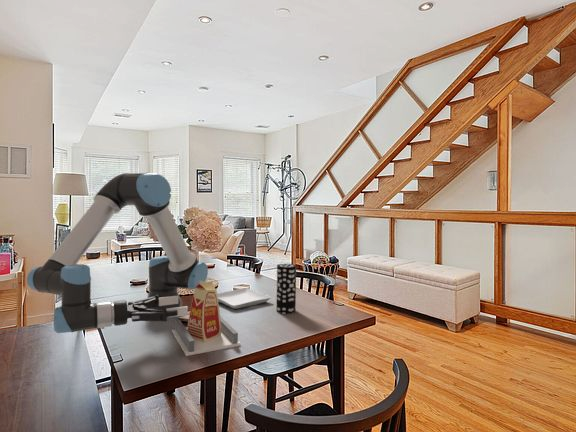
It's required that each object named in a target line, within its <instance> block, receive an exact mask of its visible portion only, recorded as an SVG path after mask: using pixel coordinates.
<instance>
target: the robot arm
mask: <svg viewBox="0 0 576 432" xmlns="http://www.w3.org/2000/svg"><path fill="white" fill-rule="evenodd" d="M171 192H172V188H171V185H170V183H169V181H168V180H167V179H166V177H165V176H163V175H161V174H160V173H153V172H143V173H142V172H139V173H137V172H132V173H130V172H126V173H125V172H124V173H122V174H118V175H116V176H114V177H113V178H112V179H110V180H109V181H107V182H106V183H105V184H104V185H103V186H102V187H101V188H100V189H99V191H97V193H96V194H95V196H94V197H93V203H92V204H91V205H90V207H89V208H88V209H87V210H86V211H85V213H84V214H83V216H81V218H80V219H79V221H78V222H77V223H76V224H75V225H74V226H73V228H72V229H71V230H70V232H69V233H68V234H67V235H66V236H65V238H64V239H63V240H62V242H60V244H59V245H58V247H57V248H56V249H55V250H54V252H53V253H52V254H51V256H50V257H48V259H47V261H45V263H44V264H43V265H42V266H41V265H40V266H36V267H34V268H33V269H31V270H30V271H29V272H28V274H27V277H26V283H27V286H28V287H29V288H30V289H32V290H33V291H37V292H39V293H46V294H52V295H55V296H61V306H58V307H56V308H54V309H53V330H54V332H55V333H57V334H63V333H64V334H65V333H75V332H81V331H87V330H93V329H101V330H104V329H105V328H108V327H112V326H113V325H114V326H115V327H116V326H123V325H127V323H128V319H131V322H134V323H136V322H167V320H168V318H175V317H184V316H189V315H188V312H189V311H188V309H189V306H187V305H186V306H182V300H181V297H180V295H179V292H178V288H179V289H184V290H185V289H186V290H188V291H189V290H190V291H191V290H193V291H195V287H196V286H197V285H198V284H199V281H205V282H206V281H207V279H208V273H209V269H208V265H207V263H206V262H204V261H199V260H198V258H197V255H196V254H195V253H194V252H193V251H192V252H191V251H190V250H189V248H188V246H187V244H186V241H185V240H184V237H183V235H182V233H181V231H180V229H179V227H178V225H177V223H176V221H175V219H174V216H173V215H172V212H171V210H170V208H169V206H170V204H171V198H172V193H171ZM126 206H134V207H135V208H136V211H137V212H138V214H139V215H140V216H141V217H144V218H146V219H147V222H148V224H149V225H150V228H151V229H152V231H153V232H154V233H153V234H155V237H156V238H157V241H158V242H159V244H160V245H161V248H162V250H163V251H164V253H165V255H161V256H160V255H159V256H155V257H152V258H150V259H149V261H148V283H149V285H148V287H149V288H148V289H149V291H148V294H147V297H146V298H143V299H142V298H141V299H138V300H135V301H127V300H126V299H122V300H120V299H119V300H114V301H113V302H112V301H101V302H95V303H91V302H92V299H91V295H92V293H91V292H92V291H91V289H92V285H91V283H92V282H91V281H92V277H91V268H90V266H89V265H87V264H81V263H80V264H78V263H79V261H80V260H81V259H82V257H83V256H84V255H85V254H86V252H87V250H88V249H89V248H90V247H91V246H92V244H93V242H94V241H95V240H96V239H97V237H98V235H99V234H100V233H101V232H102V231H103V229H104V227H106V225H107V224H108V222H109V221H110V220H111V219H112V217H113V216H114V215H116V214H119V213H120V211H121V210H122V209H123V208H124V207H126Z"/></svg>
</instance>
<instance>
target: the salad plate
mask: <svg viewBox="0 0 576 432" xmlns="http://www.w3.org/2000/svg"><path fill="white" fill-rule="evenodd" d="M217 297H218V303H221V304H223V305H225V306H228V307H230V308H231V309H235V310H237V309H243V308H247V307H252V306H256V305H260V304H263V303H265V302H268V301H270V299H271V298H272V297H271V296H270V295H267V294H265V293H262V292H260V291H256V290H254V289H252V288H248V287H244V288H238V289H233V290H229V291H223V292H219V293H218V292H217Z"/></svg>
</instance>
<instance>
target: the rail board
mask: <svg viewBox="0 0 576 432" xmlns="http://www.w3.org/2000/svg"><path fill="white" fill-rule="evenodd" d="M220 322H221V335H220V336H218V337H216V338H214V339H212V340H210V341H207V342H205V343H204V342H201V341H198V340H195V339H193V338H192V337H191V335H190V334H189V332H188V331H187V328H188V326H185V325H184V324H183V322H182V321H181V320H180V319H179V318H178V319H174V329H171V330H172V331H171V332H172V334H173V336H174V338H175V339H176V341H177V344H178V345H179V346H180V348H181V350H182V351H183V353H184V355H185V356H186V357H188V356H193V355H198V354H203V353H209V352H214V351H221V350H225V349H230V348H235V347H239V346H241V345H242V343H241V342H240V340H239V336H238V335H239V332H237V331H236V330H235V329H234V328H233V327H232V326H231V325H230V324H229V323H228V322H227V321H226V320H225V319H224V318H223V317H222V316H221V315H220Z"/></svg>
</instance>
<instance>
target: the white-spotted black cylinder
mask: <svg viewBox="0 0 576 432" xmlns="http://www.w3.org/2000/svg"><path fill="white" fill-rule="evenodd" d="M296 290H297V265H296V264H292V263H280V264H277V265H276V313H279V314H283V315H291V314H295V312H296V308H297V307H296V305H297V304H296V303H297V300H296V299H297V297H296V296H297V291H296Z"/></svg>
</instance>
